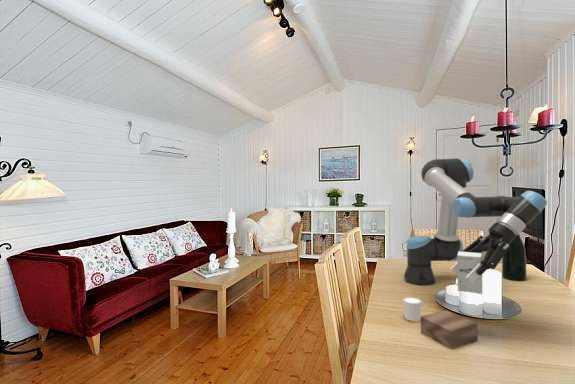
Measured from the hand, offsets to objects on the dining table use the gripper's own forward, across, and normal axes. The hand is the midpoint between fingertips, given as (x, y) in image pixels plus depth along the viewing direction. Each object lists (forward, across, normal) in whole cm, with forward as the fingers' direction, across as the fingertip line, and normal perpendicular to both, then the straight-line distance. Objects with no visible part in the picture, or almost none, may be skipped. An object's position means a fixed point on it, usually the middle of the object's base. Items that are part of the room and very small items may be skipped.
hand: (460, 275), depth 107 cm
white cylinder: (+23, +10, -4) cm, 26 cm away
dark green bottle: (-27, +58, -55) cm, 84 cm away
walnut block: (+19, -4, -9) cm, 21 cm away
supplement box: (+1, 0, -6) cm, 6 cm away
